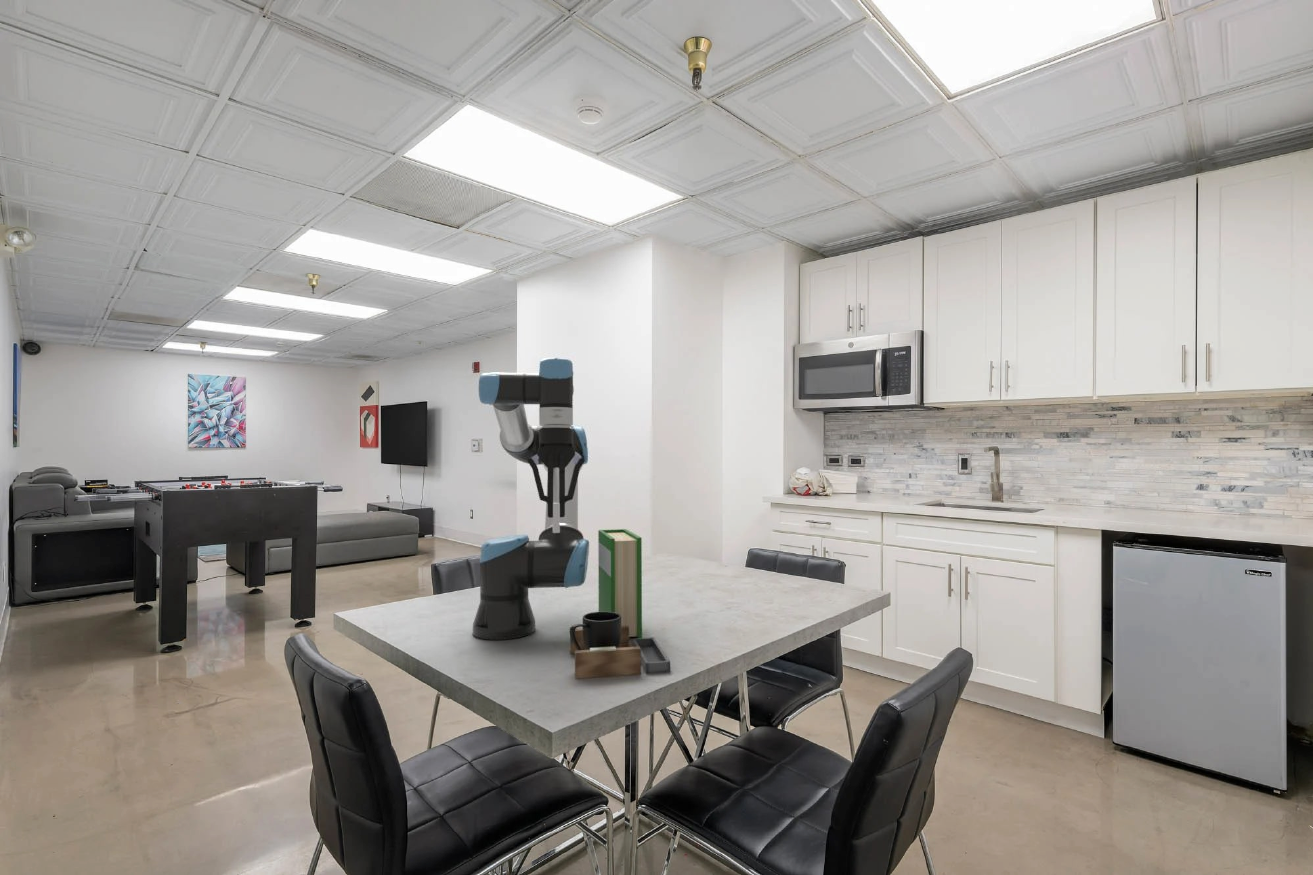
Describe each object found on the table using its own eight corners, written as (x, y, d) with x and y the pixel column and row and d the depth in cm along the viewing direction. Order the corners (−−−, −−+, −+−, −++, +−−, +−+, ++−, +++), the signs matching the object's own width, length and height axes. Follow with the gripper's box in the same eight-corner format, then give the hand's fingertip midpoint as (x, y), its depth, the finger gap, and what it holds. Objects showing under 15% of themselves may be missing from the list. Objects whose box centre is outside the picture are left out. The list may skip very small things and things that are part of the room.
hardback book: (641, 639, 148) (641, 537, 148) (611, 641, 146) (610, 538, 146) (626, 620, 165) (626, 529, 165) (598, 622, 163) (598, 530, 163)
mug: (559, 664, 130) (559, 618, 131) (606, 652, 138) (606, 609, 138) (581, 674, 124) (581, 626, 124) (629, 661, 132) (629, 616, 132)
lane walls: (575, 678, 122) (575, 651, 122) (570, 651, 139) (570, 627, 139) (641, 673, 124) (640, 647, 124) (628, 647, 141) (627, 624, 141)
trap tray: (645, 673, 125) (645, 663, 125) (632, 647, 141) (632, 638, 141) (670, 671, 126) (670, 661, 126) (654, 646, 142) (654, 637, 142)
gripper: (526, 426, 136) (526, 535, 135) (586, 426, 138) (586, 533, 138) (526, 427, 143) (526, 530, 142) (583, 428, 146) (583, 529, 145)
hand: (556, 532), depth 140 cm, fingers closed
